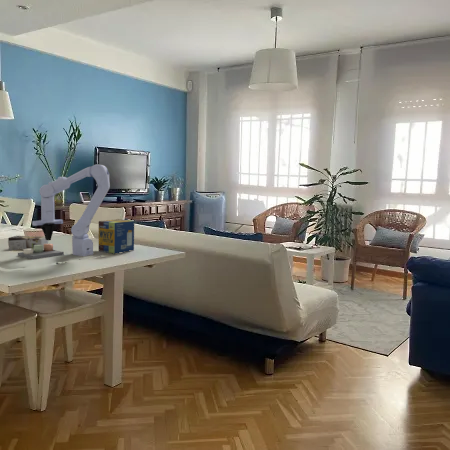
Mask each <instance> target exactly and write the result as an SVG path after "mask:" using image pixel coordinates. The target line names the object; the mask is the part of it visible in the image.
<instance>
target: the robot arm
mask: <svg viewBox="0 0 450 450" xmlns="http://www.w3.org/2000/svg"><path fill="white" fill-rule="evenodd" d="M86 177H87V178H88V177H89V178H91V177H92V178H93V179H94V180H95V182H96V184H97V188H96V190H95V192H94V193H93V195H92V197H91V199H90V201H89V202H88V204H87V206H86V208H85V209H84V211H83V212H82V215H81V216H80V217H79V219H78V220H77V222H76V223H75V224H73V225H72V226H71V230H70V231H71V235H72V236H71V239H72V240H71V243H72V244H71V245H72V251H71V252H72V256H80V257H87V256H93V255H94V242H93V240H92V239H91V238H90V237H89V234H88V233H89V231H90V225H91V223H92V221H93V218H94V217H95V215H96V213H97V212H98V209H99V208H100V206H101V204H102V203H103V200H104V198H105V197H106V195H107V194H108V192H109V190H110V189H111V184H110V182H111V181H110V172H109V169H108V168H107V166H105V165H104V164H98V163H97V164H94V165H92V166H88V167H86V168H83V169H81V170H79V171H77V172H75V173H74V174H72V175H70V176H68V177H66V176H58V177H57V179H55V180H53V181H49V182H48V184H43V185H42V186H41V187H40V188H39V190H38V193H39V194H40V199H41V201H40V207H41V208H40V209H41V211H40V212H41V213H40V214H41V217H40V218H41V219H39V220H32V225H31V226H35V227H37V226H39V227H40V228H41V230H42V232H43V235H44V237H45V239H46V240H48V241H51V240H52V236H53V233H54V232H55V229H56V228H57V225H60V224H61V225H62V224H64V220H63V219H56V217H55V214H56V213H55V212H56V210H55V195H56V194H59V193H61V192H63V191H66V190H68V189H70V187H71V185H72V184H73V183H76V182H77V181H80V180H83V179H84V178H86Z"/></svg>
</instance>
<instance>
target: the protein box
mask: <svg viewBox="0 0 450 450" xmlns="http://www.w3.org/2000/svg"><path fill="white" fill-rule="evenodd" d="M129 250H133V251H135V221H134V220H130V219H121V218H117V219H107V220H99V221H98V252H100V253H105V254H110V253H113V254H112V255H116V254H115V253H118V254H120V253H119V252H123V253H125V252H124V251H128V252H130V251H129Z"/></svg>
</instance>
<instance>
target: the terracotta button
mask: <svg viewBox="0 0 450 450" xmlns="http://www.w3.org/2000/svg"><path fill="white" fill-rule="evenodd" d="M43 250H44V251H53V250H54V244H53V243H48V244H44V249H43Z"/></svg>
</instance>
